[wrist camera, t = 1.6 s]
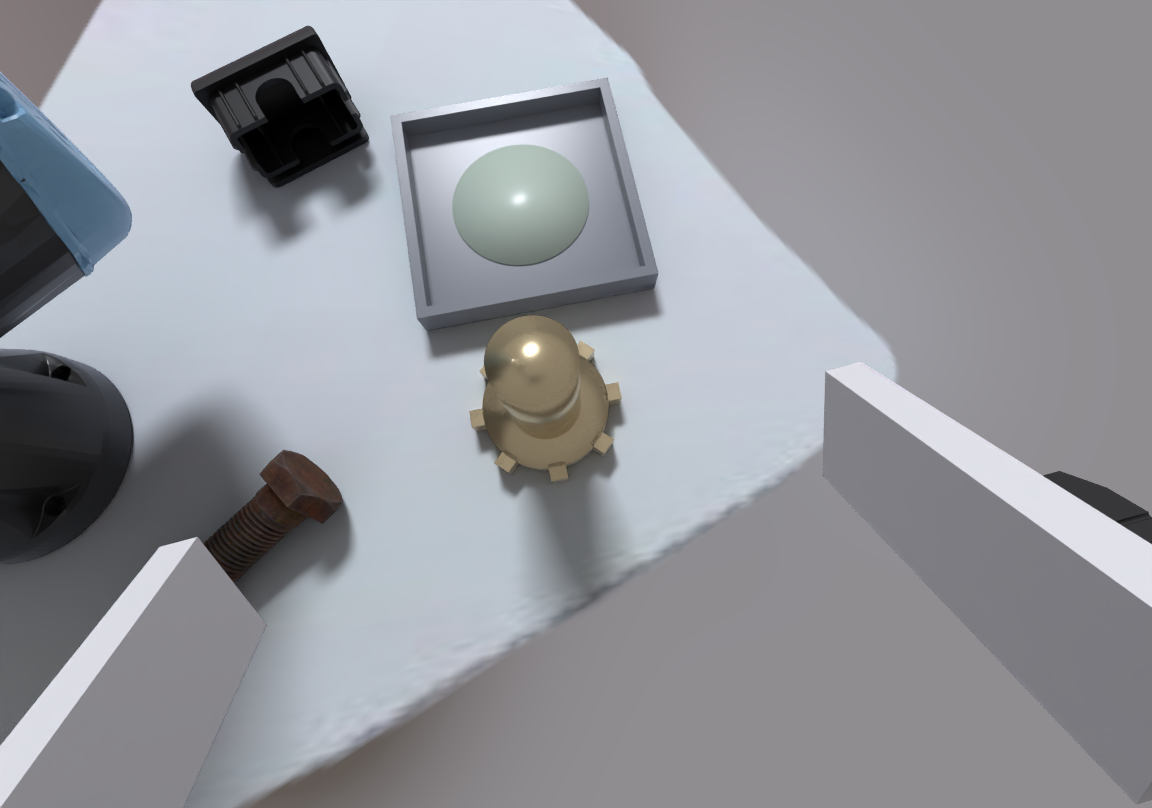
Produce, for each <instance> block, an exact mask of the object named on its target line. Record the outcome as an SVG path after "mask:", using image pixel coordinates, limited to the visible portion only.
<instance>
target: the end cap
mask: <svg viewBox="0 0 1152 808" xmlns="http://www.w3.org/2000/svg"><path fill="white" fill-rule="evenodd" d="M191 88H192V91H193V93H194V95H195V97H196V98H197V99H198V100H199V101H200V102H201V104H202V105H203V106H204V107H205V108H206V109H207V110H208V111H209V112H210V114H211V115H212V116H213V117H214V118H215V119H216V120H217V121H218V122H219V124H220V125H221V126H222V128H223V130H224V132H225V134H226V136H227V137H228V139H229V141H230V143H231V145H232V146H233V148H234V149H236V150H239V151H240V152H241V153H244V154H245V156H246V158H247V160H248V161H249V163H250V165H251V167H252V169H253V170H256V171H258V172H259V173H260V174H261V175H262V176H263V177H266V178H267V179H268V181H269V182H270V183H271V184H272V185H273V186H274V187H281V186H283V185H285V184H287V183H289V182H291V181H293V180H295V179H297V178H299V177H300V176H302V175H304V174H306V173H308V172H310V171H312V170H314V169H316V168H318V167H320V166H322V165H324V164H326V163H327V162H329V161H331V160H333V159H335V158H337V157H339V156H341V155H343V154H345V153H347V152H349V151H351V150H352V149H354V148H356V147H358V146H360V145H362V144H364V143H366V142H367V141H368V138H369V137H368V134H367V132H366V130H365V129H364V127H363V124H362V122H361V120H360V113H359V111H358V110H357V108H356V107H355V105H354V103H353V102H352V100H351V95H350V94H349V92H348V90H347V88H346V86H345V84H344V82H343V81H342V79H341V77H340V75H339V73H338V71H337V69H336V68H335V66H334V64H333V62H332V60H331V58H330V56H329V55H328V53H327V51H326V49H325V47H324V45H323V44H322V42H321V40H320V38H319V36H318V35H317V33H316V32H315V30H314V29H313V28H312V27H311V26H306V27H304V28H302V29H300V30H298V31H295V32H293V33H291V34H289V35H287V36H285V37H283V38H281V39H279V40H277V41H275V42H273V43H271V44H269V45H267V46H264V47H262V48H260V49H258V50H256V51H254V52H252V53H250V54H248V55H246V56H244V57H242V58H240V59H238V60H236V61H234V62H231V63H229V64H227V65H225V66H223V67H221V68H219V69H217V70H215V71H213V72H211V73H209V74H207V75H205V76H203V77H200V78H198V79H196V80H194V81H192V83H191Z"/></svg>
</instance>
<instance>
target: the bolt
mask: <svg viewBox="0 0 1152 808" xmlns="http://www.w3.org/2000/svg"><path fill="white" fill-rule="evenodd" d="M260 475H261V477H262V478H263V479H264V480H265V481H266V483H267V484H266V485H265V486H264V487H263V488H261V489H260V490H259V491H258V492H257V493H256V495H255V497H254V498H253V499H252V500H251V501H250V502H249V503H247V504H246V506H244V507H243V508H242V510H240V511H239V512H238V513H237V514H235V515H234V516H233V517H232V518H230V520H229V521H227V522H226V523H225V525H223V526H222V527H221V529H218V530H217V532H216V533H214V535H213V536H211V537H210V538H209V539H208V540H206V542H205V543H203V545H204V546H205V547H206V548H207V550H208V551H209V552H210V553H211V555H212V556H213V557H214V559H215V560H216V561H217V562H218V564H219V565H220V566H221V567H222V569H223V570H224V571H225V573H226V574H227V575H228V576H229V578H230V579H231V580H232V581H233V583H234V582H236V581H237V579H238V578H240V577H241V575H243V574H244V573H245V572H246V571H247V570H248V569H249V568H250V567H251V566H252V565H253V564H255V563H256V562H257V561H258V560H259V559H260V558H261V557H262V556H264V555H265V553H267V552H268V551H269V549H271V548H272V547H273V546H274V545H275V544H276V543H277V542H278V541H280V539H282V538H283V537H284V535H286V534H287V533H288V532H289V531H290V530H291V529H293V528H295V527H297V526H298V525H299V524H300V523H301V522H302V521H303V520H304V519H305V518H306V517H309V518H312V519H314V520H316V521H318V522H320V523H324V522H325V521H326V520H327V519H328V518H329V517H330V516H331V515H332V514H333V513H334V512H335V511H336V510H337V508H338V507H339V505H340V503H341V501H342V497H341V494H340V491H339V489H338V488H337V486H336V485H335V484H334V482H333V481H332V480H331V479H330V478H329V476H328V475H327V474H326V473H325V472H324V471H323V470H321V469H320V468H319V467H318V466H317V465H316V464H314V463H313V462H312V461H310V460H309V459H308V458H306V457H305V456H303V455H301V454H298V453H295V452H292V451H286V450H283V451H282V452H281V453H279V454H278V455H277V456H276V457H275V458H274V459H273V460H272V461H270V463H269V464H268V465H267V466H266V467H265V468H264V469H263V471H262V472H261V473H260Z"/></svg>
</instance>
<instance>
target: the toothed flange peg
mask: <svg viewBox="0 0 1152 808" xmlns="http://www.w3.org/2000/svg"><path fill="white" fill-rule="evenodd" d="M593 357H594V349H593V348H591V347H590V346H588V345H587V344H585V343H583V342H582V341H580V342H579V344H578V345H577V344H576V342H575V339H574V338H573V336H572V335H571V333H570V332H569V331H568V330H567V329H566V328H565V327H564V326H563V325H561V324H560V323H559V322H557V321H555V320H553V319H550V318H548V317H544V316H537V315H529V316H522V317H518V318H515V319H513V320H511V321H509V322H507V323H505V324H504V325H503V326H501V327H500V328H499V329H498V330H497V331H496V332H495V333H494V335H493V336H492V337H491V339H490V341H489V343H488V345H487V348H486V351H485V356H484V366H483V368H482V369H481V370H480V373H481V374H482V376H483V377H484V378H485V379H487V380H488V381H489V382H488V384H487V386H486V389H485V392H484V397H483V408H482V409H478V410H473V411H469V412H470V418H471V425H472V428H473V429H474V430H475V431H476V432H477V431H482V430H487V431H488V434H489V435H490V437H491V439H492V441H493V442H494V443H495V445H496V446H497V447H498V448H499V449H500V450H501V451H502V453H501V454H500V456H499V457H498V458H497V460H496V461H495V464H496V465H498V466H499V467H501V468H502V469H503V470H505V471H506V472H508V473H509V474H511V475H512V474H513V472H514V471H515V469H516V468H517V466H518V465H519V464H520V465H522V466H524V467H527V468H531V469H535V470H549V473H550V478H551V482H552V483H557V482H562V481H567V480H569V478H568V473H567V468H566V467H568V466H571V465H573V464H575V463H577V462H578V461H580V460H582V459H583V458H584V457H586V456H587V455H588V454H589V453H590V452H591V451H592V450H594V451H596V452H597V453H599V454H600V455H602V456H603V457H604V455H605V454H606V452H607V451H608V449H609V448H610V446H611V445H612V443H613V441H614V439H613V438H611V437H609V436H608V435H606V434H605V433H603V432H604V430H605V426H606V423H607V418H608V411H609V406H610V405H616V404H620V402H621V399H622V398H621V393H620V389H619V385H618V383H612V384H607V385H605V383H604V381H603V379H602V377H601V375H600V374H599V372H598V371H597V369H596V368H595V367H594V366H593V365H592V364H591V363H590V361H591V360H592V359H593Z"/></svg>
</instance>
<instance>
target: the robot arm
mask: <svg viewBox="0 0 1152 808" xmlns="http://www.w3.org/2000/svg"><path fill="white" fill-rule="evenodd" d="M131 223H132V214H131V211H130V208H129V206H128V204H127V202H126V200H125V199H124V198H123V196H122V195H121V194H120V193H119V192H118V190H117V189H116V188H115V187H114V186H113V185H112V184H111V183H110V181H109V180H108V179H107V178H106V177H105V176H104V175H103V174H102V173H101V172H100V171H99V170H98V169H97V168H96V167H95V166H94V165H93V163H92V162H91V161H90V160H89V159H88V158H87V157H86V156H85V155H84V154H83V153H82V152H81V151H80V150H79V149H78V148H77V147H76V146H75V145H74V144H73V143H72V142H71V141H70V140H69V139H68V138H67V137H66V136H65V135H64V134H63V133H62V132H61V131H60V130H59V129H58V128H57V127H56V126H55V125H54V124H53V123H52V122H51V121H50V120H49V119H48V118H47V117H46V116H45V115H44V114H43V113H42V112H41V111H40V110H39V109H38V108H37V107H36V106H35V105H34V104H33V103H32V102H31V101H30V100H29V99H28V98H26V96H25V95H24V94H23V93H22V92H21V91H19V89H18V88H17V87H16V86H15V85H13V84H12V83H11V82H10V81H9V80H8V79H7V78H6V77H5V76H4V75H3V74H2V73H1V72H0V338H1V337H2V336H3V335H5V334H6V333H8V332H9V331H10V330H12V329H13V328H14V327H16V326H17V325H18V324H20V323H21V322H22V321H24V320H25V319H26V318H28V317H29V316H31V315H32V314H33V313H35V312H36V311H37V310H39V309H40V308H41V307H43V306H44V305H45V304H47V303H48V302H49V301H51V300H52V299H53V298H55V297H56V296H58V295H59V294H60V293H62V292H63V291H64V290H66V289H67V288H68V287H70V286H71V285H72V284H74V283H75V282H76V281H78V280H79V279H81V278H82V277H83V276H88V275H90V274H91V272H93V270H94V265H95V264H96V263H97V262H98V261H99V260H101V259H102V258H103V257H104V256H105V255H106V254H107V253H109V252H110V251H111V250H112V249H113V248H114V247H115V246H117V245H118V244H119V243H120V242H121V241H122V240H123V239H125V238H126V237H127V235H128V233H129V231H130V229H131ZM131 437H132V436H131V422H130V417H129V413H128V409H127V406H126V404H125V401H124V399H123V397H122V396H121V394H120V392H119V391H118V389H117V388H116V387H115V385H114V384H113V383H112V382H111V381H110V380H109V379H108V378H107V377H106V376H105V375H103V374H102V373H101V372H99V371H97V370H96V369H94V368H92V367H90V366H88V365H86V364H83V363H80V362H77V361H74V360H71V359H68V358H65V357H62V356H59V355H55V354H52V353H47V352H42V351H36V350H22V349H0V564H10V563H18V562H23V561H27V560H31V559H34V558H38V557H40V556H43V555H45V554H48V553H50V552H52V551H54V550H56V549H58V548H60V547H62V546H63V545H65V544H66V543H68V542H70V541H71V540H72V539H74V538H75V537H77V536H78V535H79V534H80V533H82V532H83V531H84V530H85V529H86V528H87V527H88V526H89V525H90V524H91V523H92V522H93V521H94V520H95V519H96V518H97V517H98V516H99V515H100V514H101V513H102V511H103V510H104V509H105V507H106V506H107V505H108V503H109V502H110V500H111V499H112V497H113V496H114V494H115V492H116V490H117V489H118V487H119V485H120V483H121V480H122V478H123V476H124V473H125V470H126V467H127V463H128V460H129V455H130V449H131ZM823 477H824V478H825V479H826V480H827V481H828V482H829V483H830V484H831V485H832V486H833V487H834V488H835V489H836V490H837V491H838V492H839V494H840V495H841V496H842V497H843V498H844V499H845V500H846V501H847V502H848V503H849V504H850V505H851V506H852V507H853V508H854V509H855V510H856V511H857V512H858V514H859V515H860V516H861V517H862V518H863V519H864V520H865V521H866V522H867V523H868V524H869V525H870V526H871V527H872V528H873V529H874V530H875V531H876V532H877V533H878V534H879V536H880V537H881V538H882V539H883V540H884V541H885V542H886V543H887V544H888V545H889V546H890V547H891V548H892V549H893V550H894V551H895V552H896V553H897V554H898V555H899V557H900V558H901V559H902V560H904V562H905V563H906V564H907V565H908V566H909V567H910V568H911V569H912V570H913V571H914V572H915V573H916V574H917V575H918V576H919V577H920V578H921V579H922V581H923V582H924V583H925V584H926V585H927V586H928V587H929V588H930V589H931V590H932V591H933V592H934V593H935V594H936V595H937V596H938V597H939V598H940V599H941V601H942V602H943V603H945V605H946V606H947V607H948V608H949V609H950V610H951V611H952V612H953V613H954V614H955V615H956V616H957V617H958V618H959V619H960V620H961V621H962V623H964V625H965V626H966V627H967V628H968V629H969V630H970V631H971V632H972V633H973V634H974V635H975V636H976V637H977V638H978V639H979V640H980V641H981V642H982V643H983V644H984V646H985V647H986V648H987V649H988V650H989V651H990V652H991V653H992V654H993V655H994V656H995V657H996V658H997V659H998V660H999V661H1000V662H1001V663H1002V664H1003V665H1004V666H1005V668H1006V669H1007V670H1008V671H1009V672H1010V673H1011V674H1012V675H1013V676H1014V677H1015V678H1016V679H1017V680H1018V681H1019V682H1020V683H1021V684H1022V685H1023V686H1024V687H1025V688H1026V690H1027V691H1028V692H1029V693H1030V694H1031V695H1032V696H1033V697H1034V698H1035V699H1036V700H1037V701H1038V702H1039V703H1040V704H1041V705H1042V706H1043V707H1044V708H1045V709H1046V710H1047V711H1048V713H1049V714H1050V715H1051V716H1052V717H1053V718H1054V719H1055V720H1056V721H1057V722H1058V723H1059V724H1060V725H1061V726H1062V727H1063V728H1064V729H1065V730H1066V731H1067V732H1068V733H1069V735H1070V736H1071V737H1072V738H1074V740H1075V741H1076V742H1077V743H1078V744H1079V745H1080V746H1081V747H1082V748H1083V749H1084V750H1085V751H1086V752H1087V753H1088V754H1089V756H1090V757H1091V758H1092V759H1093V760H1094V761H1095V762H1096V763H1097V764H1098V765H1099V766H1100V767H1101V768H1102V769H1103V770H1104V771H1105V772H1106V773H1107V774H1108V775H1109V776H1110V778H1111V779H1112V780H1113V781H1114V782H1115V783H1116V784H1117V785H1118V786H1119V787H1120V788H1121V789H1122V790H1123V791H1124V792H1125V793H1126V794H1127V795H1128V796H1129V797H1130V798H1131V799H1132V800H1133V802H1134V803H1135V804H1139V803H1143V802H1146V801H1150V800H1152V517H1150V515H1149V513H1148V511H1146V510H1144V509H1142V508H1141V507H1139V506H1137V505H1136V504H1134V503H1132V502H1130V501H1129V500H1127V499H1125V498H1123V497H1122V496H1120V495H1118V494H1116V493H1115V492H1113V491H1111V490H1110V489H1108V488H1106V487H1103V486H1100V485H1097V484H1095V483H1092V482H1089V481H1086V480H1084V479H1081V478H1078V477H1075V476H1072V475H1069V474H1066V473H1063V472H1061V471H1058V472H1054V473H1051V474H1047V475H1043V476H1042V475H1040V474H1039V473H1037V472H1036V471H1034V470H1033V469H1031V468H1029V467H1028V466H1026V465H1024V464H1023V463H1021V462H1020V461H1018V460H1016V459H1015V458H1013V457H1012V456H1010V455H1009V454H1007V453H1005V452H1004V451H1002V450H1001V449H999V448H997V447H995V446H994V445H993V444H991V443H990V442H988V441H986V440H985V439H983V438H982V437H980V436H978V435H977V434H975V433H974V432H972V431H970V430H969V429H967V428H966V427H964V426H962V425H961V424H959V423H958V422H956V421H954V420H953V419H951V418H949V417H948V416H946V415H945V414H943V413H942V412H940V411H938V410H937V409H935V408H934V407H932V406H931V405H929V404H927V403H926V402H924V401H923V400H921V399H919V398H918V397H916V396H915V395H913V394H911V393H910V392H908V391H907V390H905V389H903V388H902V387H900V386H899V385H897V384H896V383H894V382H892V381H891V380H889V379H888V378H886V377H884V376H883V375H881V374H880V373H878V372H876V371H875V370H873V369H872V368H870V367H868V366H867V365H865V364H864V363H862V362H858V363H855V364H851V365H847V366H843V367H839V368H836V369H832V370H828V371H825V404H824V442H823ZM266 626H267V625H266V623H265V622H264V621H263V620H262V618H261V617H260V616H259V614H258V613H257V612H256V611H255V609H254V608H253V607H252V606H251V604H250V603H249V602H248V600H247V599H246V598H245V597H244V595H243V594H242V593H241V592H240V590H239V589H238V588H237V586H236V585H235V584H234V583H233V581H232V580H231V579H230V578H229V576H228V575H227V574H226V573H225V571H224V570H223V569H222V567H221V566H220V565H219V564H218V562H217V561H216V560H215V559H214V557H213V556H212V555H211V553H210V552H209V551H208V550H207V548H206V547H205V546H204V545H203V543H202V542H201V541H200V539H199V538H198V537H195V538H191V539H187V540H184V541H180V542H176V543H172V544H168V545H165V546H161V547H159V548H158V550H157V551H156V552H155V553H154V555H153V556H152V557H151V558H150V560H149V561H148V562H147V563H146V565H145V566H144V567H143V568H142V570H141V571H140V572H139V573H138V575H137V576H136V577H135V578H134V580H133V581H132V582H131V583H130V585H129V586H128V587H127V588H126V590H125V591H124V592H123V593H122V595H121V596H120V597H119V598H118V600H117V601H116V602H115V603H114V605H113V606H112V607H111V608H110V610H109V611H108V612H107V613H106V615H105V616H104V617H103V618H102V619H101V621H100V622H99V623H98V624H97V626H96V627H95V628H94V629H93V631H92V632H91V633H90V634H89V636H88V637H87V638H86V639H85V641H84V642H83V643H82V644H81V646H80V647H79V648H78V649H77V651H76V652H75V653H74V654H73V656H72V657H71V658H70V659H69V661H68V662H67V663H66V664H65V666H64V667H63V668H62V669H61V671H60V672H59V673H58V674H57V676H56V677H55V678H54V679H53V681H52V682H51V683H50V684H49V686H48V687H47V688H46V689H45V691H44V692H43V693H42V694H41V696H40V697H39V698H38V699H37V701H36V702H35V703H34V704H33V706H32V707H31V708H30V709H29V711H28V712H27V713H26V714H25V716H24V717H23V718H22V719H21V721H20V722H19V723H18V724H17V726H16V727H15V728H14V729H13V731H12V732H11V733H10V734H9V736H8V737H7V738H6V739H5V741H4V742H3V743H2V744H1V746H0V808H183V807H184V805H185V803H186V801H187V798H188V796H189V794H190V792H191V790H192V788H193V785H194V783H195V781H196V779H197V777H198V774H199V772H200V770H201V768H202V766H203V763H204V761H205V759H206V757H207V755H208V753H209V750H210V748H211V746H212V744H213V742H214V739H215V737H216V735H217V733H218V731H219V729H220V726H221V724H222V722H223V720H224V718H225V715H226V713H227V711H228V709H229V707H230V705H231V702H232V700H233V698H234V696H235V694H236V691H237V689H238V687H239V685H240V683H241V680H242V678H243V676H244V674H245V672H246V670H247V667H248V665H249V663H250V661H251V659H252V656H253V654H254V652H255V650H256V648H257V646H258V643H259V641H260V639H261V637H262V635H263V632H264V630H265V628H266Z"/></svg>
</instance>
